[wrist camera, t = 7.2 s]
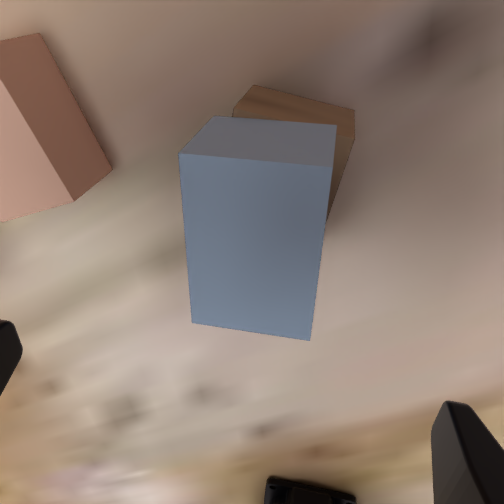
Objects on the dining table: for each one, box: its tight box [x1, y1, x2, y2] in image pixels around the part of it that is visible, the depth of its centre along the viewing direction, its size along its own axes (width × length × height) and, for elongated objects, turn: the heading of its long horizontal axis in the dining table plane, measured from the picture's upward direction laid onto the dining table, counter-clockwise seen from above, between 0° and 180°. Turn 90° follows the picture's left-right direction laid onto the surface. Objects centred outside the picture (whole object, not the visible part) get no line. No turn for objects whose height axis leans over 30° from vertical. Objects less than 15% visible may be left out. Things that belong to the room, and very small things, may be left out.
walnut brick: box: [232, 85, 355, 224], centre depth 17 cm, size 6×4×4 cm, turn 169°
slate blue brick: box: [178, 116, 337, 341], centre depth 14 cm, size 6×4×4 cm, turn 179°
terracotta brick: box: [0, 33, 112, 222], centre depth 18 cm, size 6×4×4 cm, turn 20°
